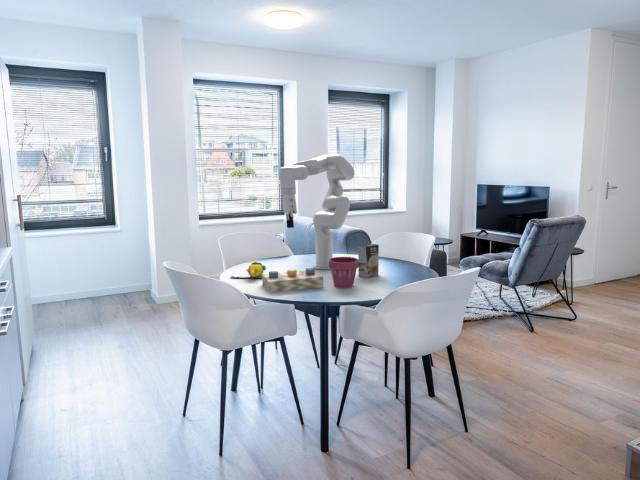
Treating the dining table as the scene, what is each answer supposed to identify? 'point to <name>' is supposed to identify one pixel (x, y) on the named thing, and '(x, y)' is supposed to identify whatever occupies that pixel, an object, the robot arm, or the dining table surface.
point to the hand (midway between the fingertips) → (290, 227)
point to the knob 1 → (273, 274)
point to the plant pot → (343, 271)
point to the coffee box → (368, 260)
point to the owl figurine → (255, 270)
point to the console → (292, 281)
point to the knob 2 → (310, 271)
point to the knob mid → (292, 273)
